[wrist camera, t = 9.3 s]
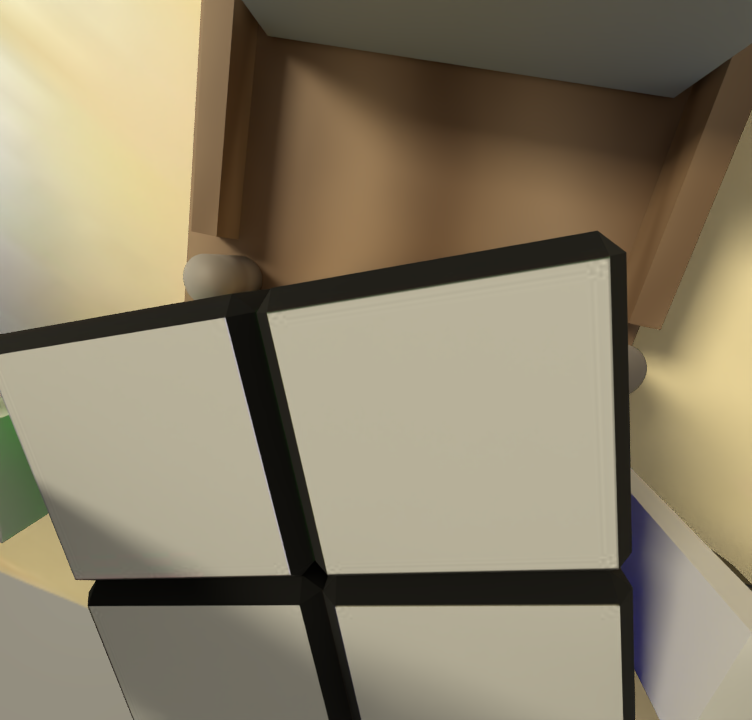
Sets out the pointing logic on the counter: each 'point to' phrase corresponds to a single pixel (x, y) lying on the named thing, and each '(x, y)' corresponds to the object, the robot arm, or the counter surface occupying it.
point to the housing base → (439, 164)
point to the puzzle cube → (352, 490)
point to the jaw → (532, 35)
